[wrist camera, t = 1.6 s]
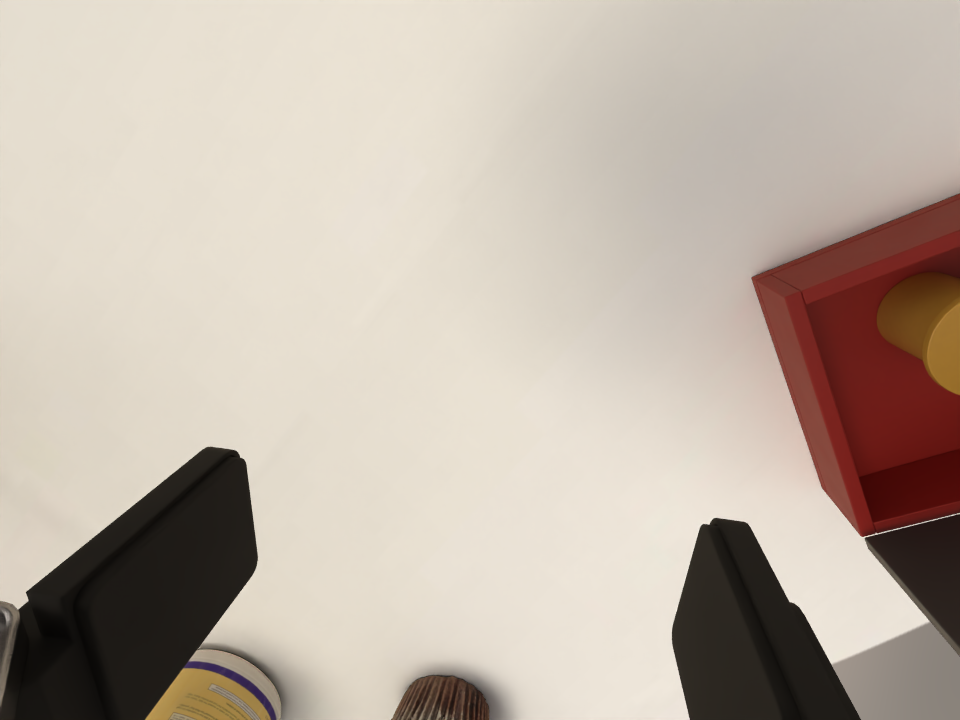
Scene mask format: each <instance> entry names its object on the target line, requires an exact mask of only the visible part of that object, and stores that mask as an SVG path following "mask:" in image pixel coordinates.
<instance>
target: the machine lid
mask: <svg viewBox="0 0 960 720" xmlns="http://www.w3.org/2000/svg"><path fill="white" fill-rule="evenodd" d="M865 541H866V544H867V546H868V549H869V550H870V551H871V552H872V554H873V555H874V556H875V557H876V558H877V560H878V561H879V562H880V563H881V564H882V565H883V567H884V568H885V569H886V570H887V571H888V572H889V574H890V575H891V576H892V577H893V578H894V580H895V581H896V582H897V583H898V584H899V585H900V587H901V588H902V589H903V590H904V591H905V592H906V594H907V595H908V596H909V597H910V598H911V600H912V601H913V602H914V603H915V604H916V605H917V607H918V608H919V609H920V610H921V611H922V613H923V614H924V615H925V616H926V617H927V618H928V620H929V621H930V622H931V623H932V624H933V625H934V627H935V628H936V629H937V630H938V631H939V632H940V634H941V635H942V636H943V637H944V638H945V640H946V641H947V642H948V643H949V644H950V645H951V647H952V648H953V649H954V650H955V651H956V652H957V654H958V655H959V656H960V514H959V515H955V516H951V517H947V518H942V519H938V520H934V521H930V522H926V523H922V524H918V525H914V526H910V527H906V528H902V529H898V530H894V531H890V532H886V533H882V534H878V535H874V536H870V537H866V538H865Z"/></svg>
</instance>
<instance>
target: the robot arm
mask: <svg viewBox="0 0 960 720" xmlns="http://www.w3.org/2000/svg"><path fill="white" fill-rule="evenodd" d="M257 561H258V554H257V546H256V538H255V530H254V522H253V514H252V506H251V498H250V490H249V482H248V474H247V466H246V462H245V460H244V459H242V458H240V455H239V454H238V452H237V451H235V450H230V449H223V448H216V447H206V448H205V449H203V450H202V451H200V452H199V453H198V454H197V455H195V456H194V457H193V458H192V459H190V460H189V461H188V462H187V463H186V464H184V465H183V466H182V467H181V468H179V469H178V470H177V471H176V472H174V473H173V474H172V475H171V476H169V477H168V478H167V479H166V480H164V481H163V482H162V483H161V484H159V485H158V486H157V487H156V488H155V489H153V490H152V491H151V492H150V493H148V494H147V495H146V496H145V497H143V498H142V499H141V500H140V501H138V502H137V503H136V504H135V505H133V506H132V507H131V508H130V509H128V510H127V511H126V512H125V513H124V514H122V515H121V516H120V517H119V518H117V519H116V520H115V521H114V522H112V523H111V524H110V525H109V526H107V527H106V528H105V529H104V530H102V531H101V532H100V533H99V534H97V535H96V536H95V537H94V538H92V539H91V540H90V541H89V542H88V543H86V544H85V545H84V546H83V547H81V548H80V549H79V550H78V551H76V552H75V553H74V554H73V555H71V556H70V557H69V558H68V559H66V560H65V561H64V562H63V563H61V564H60V565H59V566H58V567H57V568H55V569H54V570H53V571H52V572H50V573H49V574H48V575H47V576H45V577H44V578H43V579H42V580H40V581H39V582H38V583H37V584H35V585H34V586H33V587H32V588H30V589H29V590H28V591H27V592H26V594H27V597H28V599H29V601H28V602H27V603H26V604H24V605H23V606H22V607H21V608H20V609H18V610H17V608H16V607H15V606H14V605H13V604H10V603H7V602H3V601H0V720H145V719H146V718H147V716H148V715H149V714H150V712H151V711H152V710H153V708H154V707H155V706H156V704H157V703H158V702H159V700H160V699H161V698H162V696H163V695H164V694H165V692H166V691H167V689H168V688H169V687H170V685H171V684H172V683H173V681H174V680H175V679H176V677H177V676H178V675H179V673H180V672H181V671H182V669H183V668H184V667H185V665H186V664H187V663H188V661H189V660H190V659H191V657H192V656H193V654H194V653H195V652H196V650H197V649H198V648H199V646H200V645H201V644H202V642H203V641H204V640H205V638H206V637H207V636H208V634H209V633H210V632H211V630H212V629H213V628H214V626H215V625H216V624H217V622H218V621H219V620H220V618H221V617H222V615H223V614H224V613H225V611H226V610H227V609H228V607H229V606H230V605H231V603H232V602H233V601H234V599H235V598H236V597H237V595H238V594H239V593H240V591H241V590H242V589H243V587H244V586H245V585H246V583H247V582H248V580H249V579H250V578H251V576H252V575H253V573H254V571H255V569H256V566H257ZM672 644H673V649H674V653H675V658H676V662H677V666H678V671H679V675H680V679H681V683H682V688H683V692H684V696H685V701H686V705H687V709H688V713H689V718H690V720H861V719H860V717H859V715H858V713H857V711H856V710H855V708H854V706H853V704H852V702H851V700H850V698H849V697H848V695H847V693H846V691H845V689H844V688H843V685H842V684H841V682H840V680H839V678H838V676H837V675H836V673H835V671H834V669H833V667H832V665H831V663H830V661H829V660H828V658H827V656H826V654H825V652H824V650H823V648H822V647H821V645H820V643H819V641H818V639H817V637H816V635H815V634H814V632H813V630H812V628H811V626H810V624H809V623H808V621H807V619H806V617H805V615H804V614H803V612H802V611H801V609H800V608H799V607H798V606H797V605H795V604H794V603H791V602H789V600H788V599H787V597H786V595H785V593H784V591H783V589H782V587H781V585H780V583H779V581H778V579H777V577H776V576H775V574H774V572H773V570H772V568H771V566H770V564H769V562H768V560H767V558H766V556H765V554H764V553H763V551H762V549H761V547H760V545H759V543H758V541H757V539H756V537H755V535H754V533H753V531H752V530H751V528H750V526H749V525H748V523H746V522H741V521H734V520H727V519H720V518H714V519H713V520H712V521H711V523H710V525H707V524H703V525H702V526H701V527H700V530H699V533H698V537H697V540H696V544H695V548H694V551H693V555H692V558H691V562H690V566H689V569H688V573H687V576H686V580H685V584H684V587H683V591H682V594H681V598H680V602H679V605H678V609H677V612H676V616H675V620H674V623H673V628H672Z"/></svg>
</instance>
